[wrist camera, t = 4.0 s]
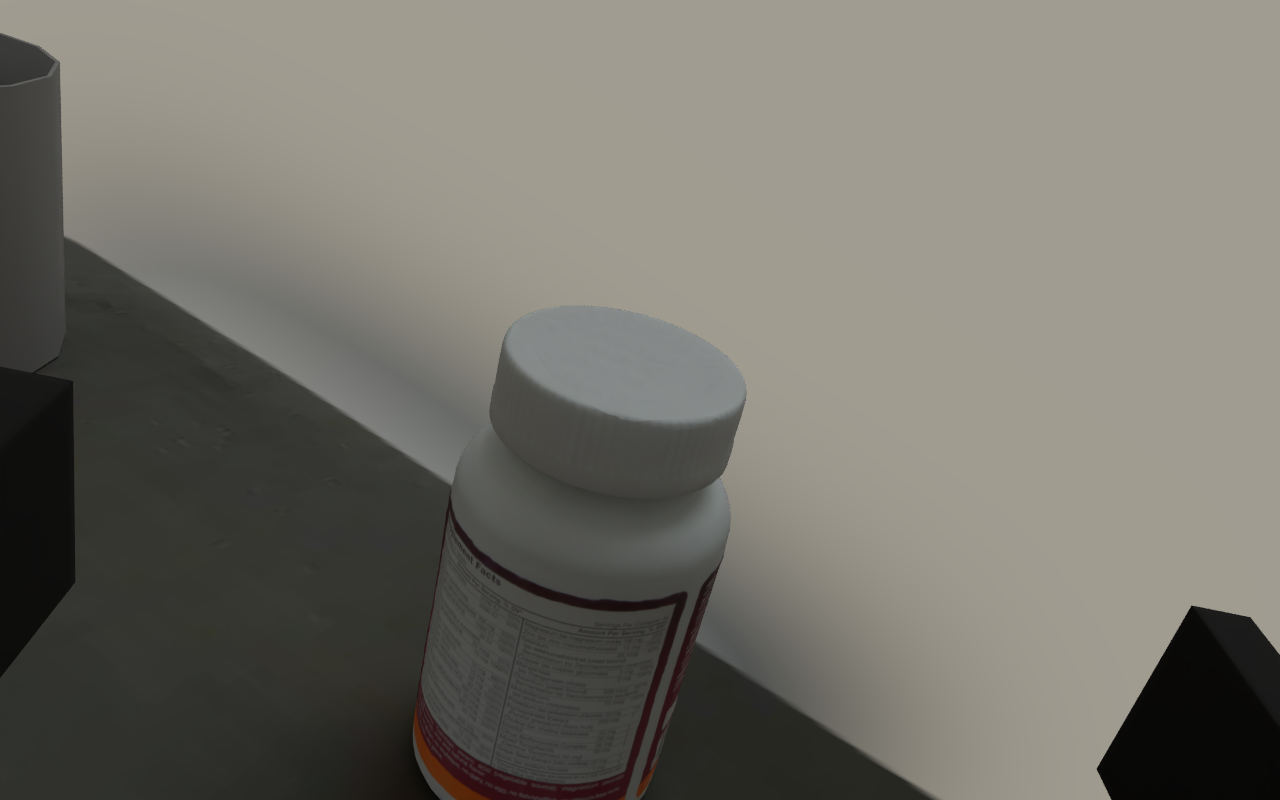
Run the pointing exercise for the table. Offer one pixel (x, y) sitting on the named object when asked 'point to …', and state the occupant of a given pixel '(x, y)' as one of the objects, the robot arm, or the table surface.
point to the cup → (30, 207)
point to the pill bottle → (576, 559)
